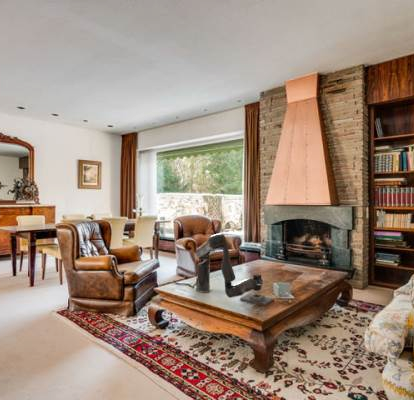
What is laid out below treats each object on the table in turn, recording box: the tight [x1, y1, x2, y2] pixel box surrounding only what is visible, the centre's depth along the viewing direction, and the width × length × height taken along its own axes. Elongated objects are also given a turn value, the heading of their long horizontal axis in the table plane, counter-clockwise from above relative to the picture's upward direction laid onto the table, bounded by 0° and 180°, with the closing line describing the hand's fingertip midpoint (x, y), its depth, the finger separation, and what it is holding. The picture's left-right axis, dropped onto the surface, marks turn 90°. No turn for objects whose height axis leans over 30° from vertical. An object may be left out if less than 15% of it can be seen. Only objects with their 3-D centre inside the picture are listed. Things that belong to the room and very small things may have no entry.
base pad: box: [240, 293, 275, 307], centre depth 213 cm, size 18×14×3 cm
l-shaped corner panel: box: [273, 282, 296, 299], centre depth 224 cm, size 12×12×8 cm
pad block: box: [252, 273, 262, 292], centre depth 213 cm, size 4×5×10 cm
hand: (259, 280), depth 215 cm, fingers closed on pad block, 3 cm apart
